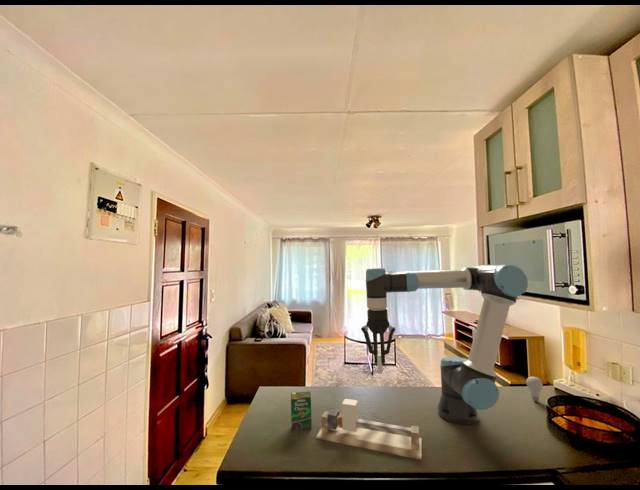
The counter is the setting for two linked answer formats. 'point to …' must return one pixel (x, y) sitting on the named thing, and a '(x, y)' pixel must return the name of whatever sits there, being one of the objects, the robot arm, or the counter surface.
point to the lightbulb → (534, 387)
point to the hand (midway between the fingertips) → (380, 372)
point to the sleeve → (349, 414)
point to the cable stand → (372, 435)
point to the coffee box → (301, 410)
